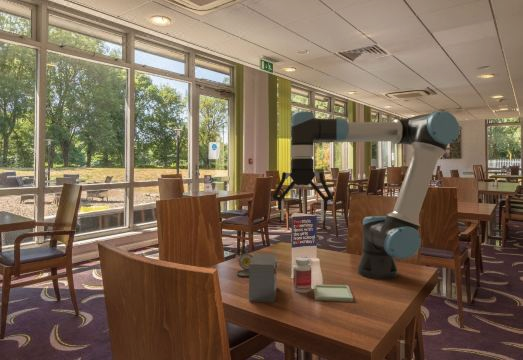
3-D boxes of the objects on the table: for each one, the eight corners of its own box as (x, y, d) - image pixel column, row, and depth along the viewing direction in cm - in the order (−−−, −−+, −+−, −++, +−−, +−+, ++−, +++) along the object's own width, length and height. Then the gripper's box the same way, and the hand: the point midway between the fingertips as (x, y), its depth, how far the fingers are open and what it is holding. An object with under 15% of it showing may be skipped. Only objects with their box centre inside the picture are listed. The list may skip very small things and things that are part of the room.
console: (278, 287, 131) (278, 253, 131) (276, 302, 117) (276, 264, 117) (253, 286, 132) (253, 253, 131) (247, 301, 118) (247, 264, 117)
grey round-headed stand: (240, 278, 142) (240, 252, 141) (232, 272, 149) (232, 247, 149) (259, 275, 145) (259, 250, 145) (251, 269, 153) (251, 245, 152)
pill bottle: (314, 291, 127) (315, 259, 127) (301, 294, 124) (301, 262, 123) (303, 286, 133) (303, 255, 132) (289, 289, 129) (289, 258, 129)
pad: (348, 288, 130) (348, 285, 130) (353, 301, 118) (353, 297, 118) (313, 287, 131) (313, 284, 131) (315, 300, 119) (315, 296, 119)
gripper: (338, 157, 129) (338, 218, 130) (266, 158, 131) (267, 217, 132) (340, 157, 121) (340, 222, 122) (264, 158, 124) (265, 221, 125)
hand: (302, 220), depth 127 cm, fingers open, 13 cm apart
